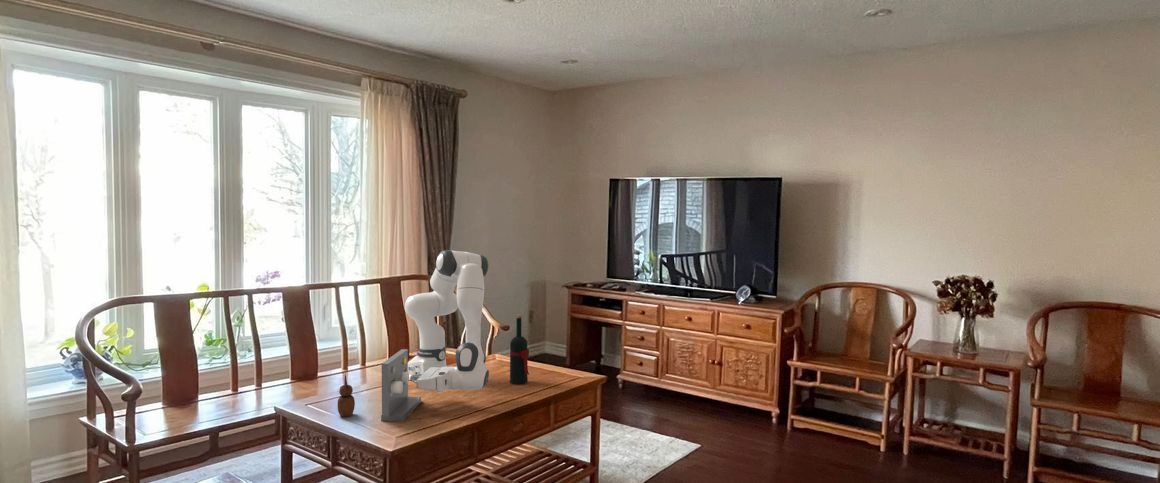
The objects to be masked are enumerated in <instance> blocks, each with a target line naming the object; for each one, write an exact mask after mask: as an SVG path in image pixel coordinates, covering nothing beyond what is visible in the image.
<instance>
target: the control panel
mask: <svg viewBox="0 0 1160 483" xmlns="http://www.w3.org/2000/svg"><path fill="white" fill-rule="evenodd" d="M408 352H409V349H407V348H406V349H405V348H401V349H400V350H398V351H397V352H396V353H395V354H393V355H391V356H390V357H389V358H388V359H386V360H384V361H383V362H382V363H381V416H380V420H381V422H404V421H405V420H406V419H407V418H408V417H409V416H410V414H411V413H412V412H413V411H414V410H415V409H416V408H417V407H418V406H419V404H421V403H422V396H409V382H408V383H403V391H402V393H401V394H392V393H391V384H392V382H393V381H402V372H408V362H409V361H408V360H409V354H408Z"/></svg>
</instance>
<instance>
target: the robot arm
mask: <svg viewBox="0 0 1160 483" xmlns="http://www.w3.org/2000/svg"><path fill="white" fill-rule="evenodd" d="M435 260H436V262H435V269H434V271H433V273H432V275H431V276H430V279H429V284H430V287H431V289H432V290H433V291H430V292H422V293H416V294H412V295H410V296H408V297H407V298H406V301H405V302H404V310H405V313H406V315H407V316H408V317H409V318H410V319H412V320H413V321H414V322H415V324H416V326H417V329H418V335H419V347H417V348H416V349H415V352H416V356H414V357H412V358H411V359H410V360H409V361H408V372H409V381H410V382H411V381H412V382H415V385H416V386H415V387H416V389H418V390H422V391H423V390H424V391H436V392H438V393H443V392H445V391H449V390H451V391H455V390H463V391H477V390H482V389H484V388H485V387H486V385H487V384H488V380H489V377H490V370H489V369H488V367H487V366H486V361H487V360H486V359H487V357H486V356H487V355H486V353H485V350H484V348H483V345H482V315H483V307H484V301H485V278H484V277H486V275H487V273H488V270H489V261H488V259H487V257H486V256H485V255H482V254H480V253H473V252H469V251H461V250H459V251H458V250H453V249H451V250H450V249H447V250H446V249H445V250H442V251H440V252H439V253H438V255H437V258H436V259H435ZM455 288H456V293H455V291H454V290H455ZM457 310H459V312H460V314H461V315H462V317H463V321H464V324H465V342H464V343H460V344H459V346H457V348H456V350H455V362H456V366H447V360H446V359H447V358H446V356H447V347H446V341H445V339H446V338H445V337H446V334H445V332H446V331H445V329H444V327H443V326H441V325H440V324H438V323H436V319H435V317H441V316H447V315H450V314H452V313H455V312H457Z"/></svg>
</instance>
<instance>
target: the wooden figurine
mask: <svg viewBox="0 0 1160 483" xmlns="http://www.w3.org/2000/svg"><path fill="white" fill-rule="evenodd" d="M338 390H339V391H338V392H339V395H340V396H339V397H338V400H337V412H338V414H339V416H340V417H342V418H343V417H344V418H346V417H351V416H352V415H353V414H354V410H355V407H356V406H355V405H356V402H355V397H354V396H353V390H354V389H353V387H352V385H351V384H348V381H347V376H346V374H345V373H344V384H343V385H340V387H339V389H338Z"/></svg>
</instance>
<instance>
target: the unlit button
mask: <svg viewBox="0 0 1160 483" xmlns="http://www.w3.org/2000/svg"><path fill="white" fill-rule="evenodd" d="M402 391H403V382H402V381H393V382H392V384H391V393H392V394H401V393H402Z"/></svg>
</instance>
